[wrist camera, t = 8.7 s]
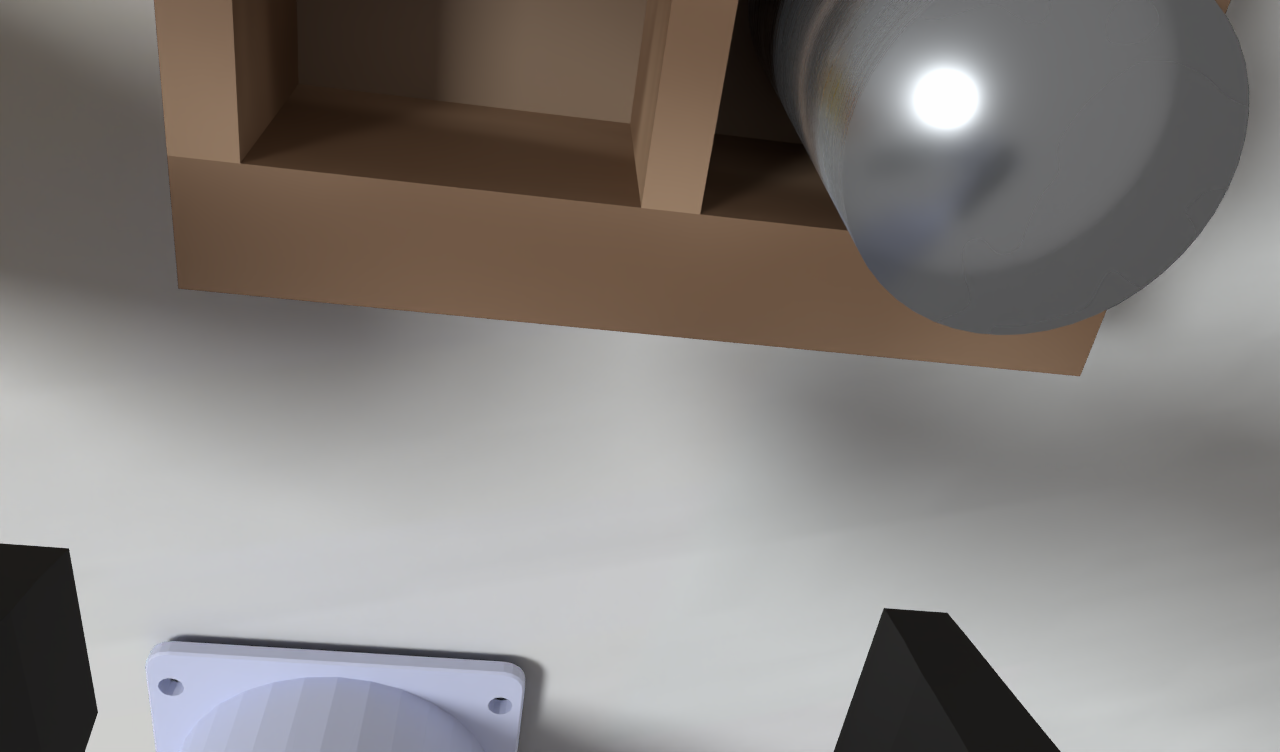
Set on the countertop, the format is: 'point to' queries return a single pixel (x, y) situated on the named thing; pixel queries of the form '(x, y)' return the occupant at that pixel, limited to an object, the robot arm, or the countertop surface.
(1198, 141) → the peg
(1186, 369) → the countertop surface
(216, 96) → the socket block
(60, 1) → the countertop surface
